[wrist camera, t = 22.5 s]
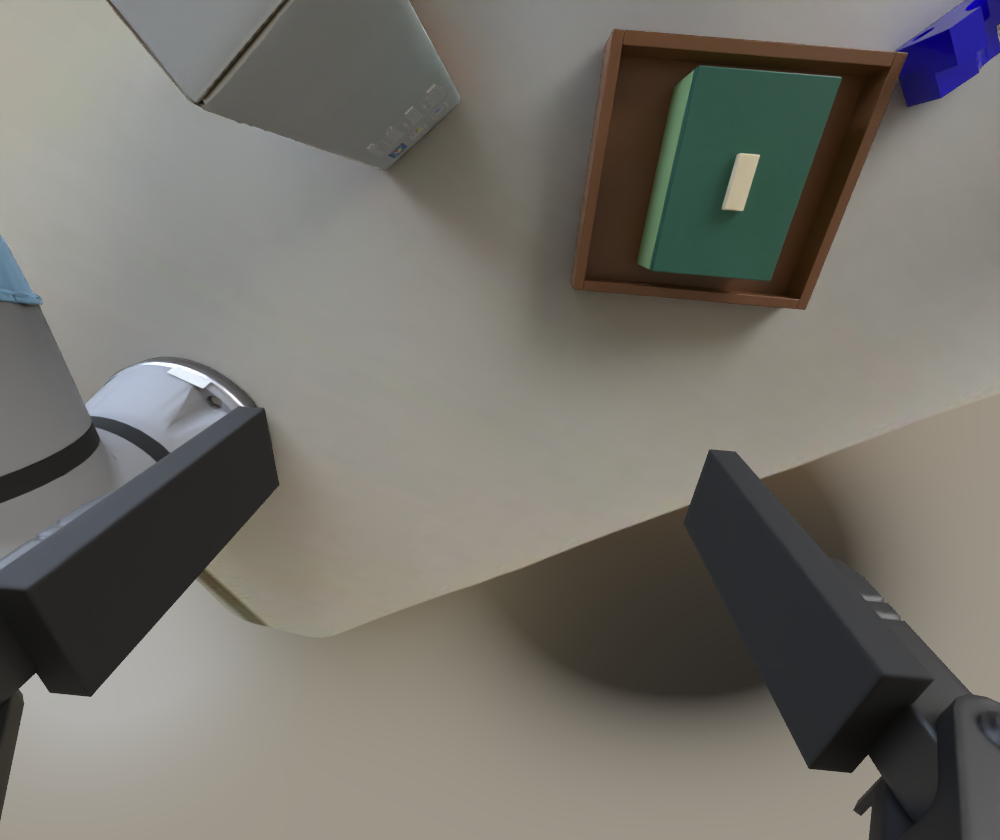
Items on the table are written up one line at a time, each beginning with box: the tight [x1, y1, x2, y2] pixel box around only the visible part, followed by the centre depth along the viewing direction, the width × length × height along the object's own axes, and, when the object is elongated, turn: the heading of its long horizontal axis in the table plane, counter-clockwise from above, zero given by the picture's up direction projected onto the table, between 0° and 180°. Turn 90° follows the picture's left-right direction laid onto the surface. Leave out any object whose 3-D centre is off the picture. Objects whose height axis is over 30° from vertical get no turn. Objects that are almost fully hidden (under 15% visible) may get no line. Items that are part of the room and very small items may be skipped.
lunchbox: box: [637, 65, 842, 281], centre depth 28 cm, size 5×11×8 cm
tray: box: [571, 29, 908, 310], centre depth 29 cm, size 17×15×2 cm
